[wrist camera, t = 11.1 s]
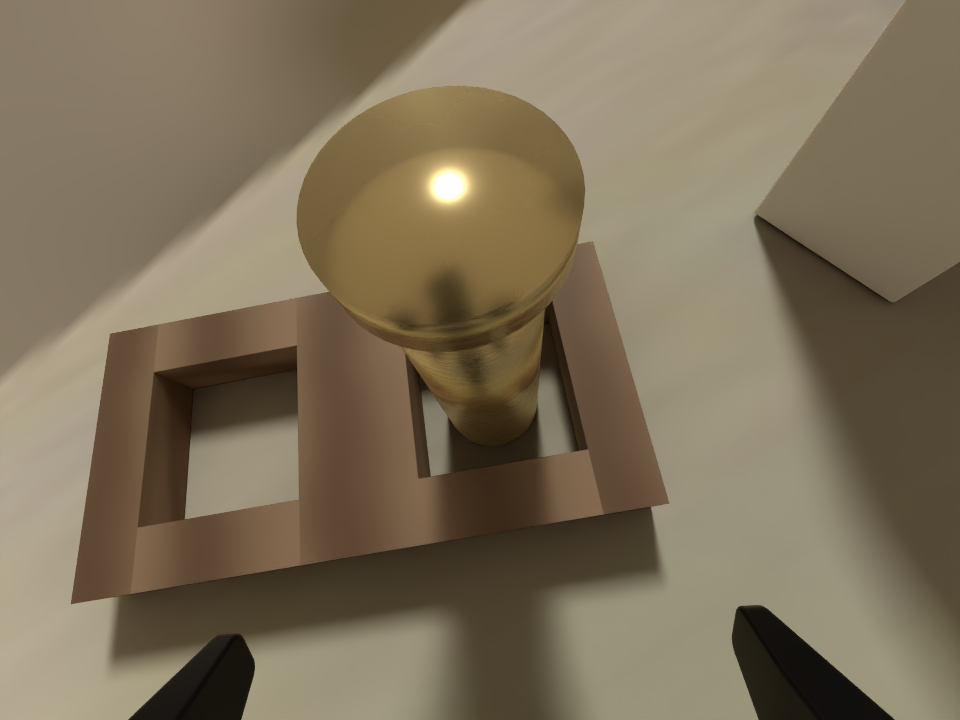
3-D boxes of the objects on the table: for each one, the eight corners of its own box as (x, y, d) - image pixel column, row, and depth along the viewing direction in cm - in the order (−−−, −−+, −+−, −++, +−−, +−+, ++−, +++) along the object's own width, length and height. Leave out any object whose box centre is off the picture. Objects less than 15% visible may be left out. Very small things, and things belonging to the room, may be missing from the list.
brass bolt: (509, 480, 19) (476, 382, 7) (414, 417, 21) (239, 236, 8) (569, 384, 20) (638, 146, 8) (476, 330, 22) (408, 54, 9)
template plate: (586, 271, 22) (592, 241, 20) (651, 506, 18) (669, 503, 16) (152, 353, 23) (110, 333, 21) (126, 594, 19) (71, 603, 17)
